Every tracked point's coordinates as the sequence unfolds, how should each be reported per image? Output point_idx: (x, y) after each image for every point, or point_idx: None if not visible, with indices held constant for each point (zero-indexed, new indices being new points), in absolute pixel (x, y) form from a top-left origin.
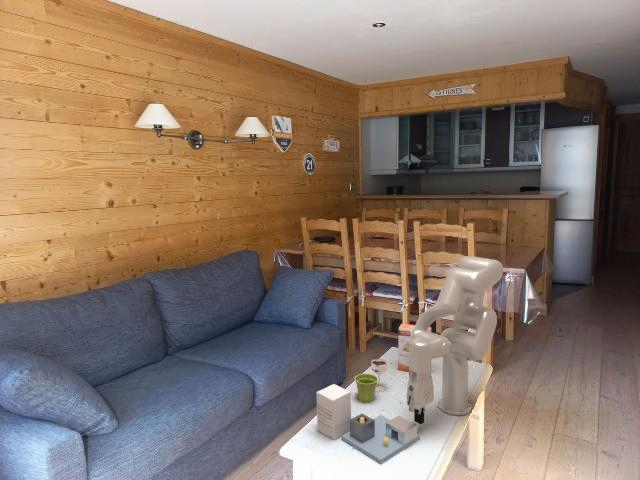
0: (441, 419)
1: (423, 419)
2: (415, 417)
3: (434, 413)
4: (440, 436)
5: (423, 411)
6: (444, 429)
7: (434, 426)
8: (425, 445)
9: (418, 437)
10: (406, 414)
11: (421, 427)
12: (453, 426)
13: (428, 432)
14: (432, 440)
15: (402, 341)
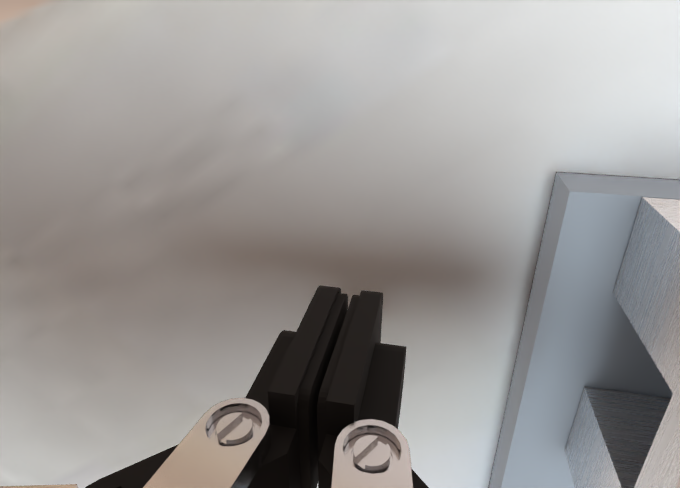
0: (43, 206)
1: (325, 318)
2: (398, 422)
3: (37, 305)
4: (306, 6)
5: (269, 423)
6: (147, 67)
7: (196, 190)
8: (660, 24)
9: (598, 187)
10: None
11: (320, 281)
12: (14, 24)
13: (345, 174)
14: (469, 28)
15: None
